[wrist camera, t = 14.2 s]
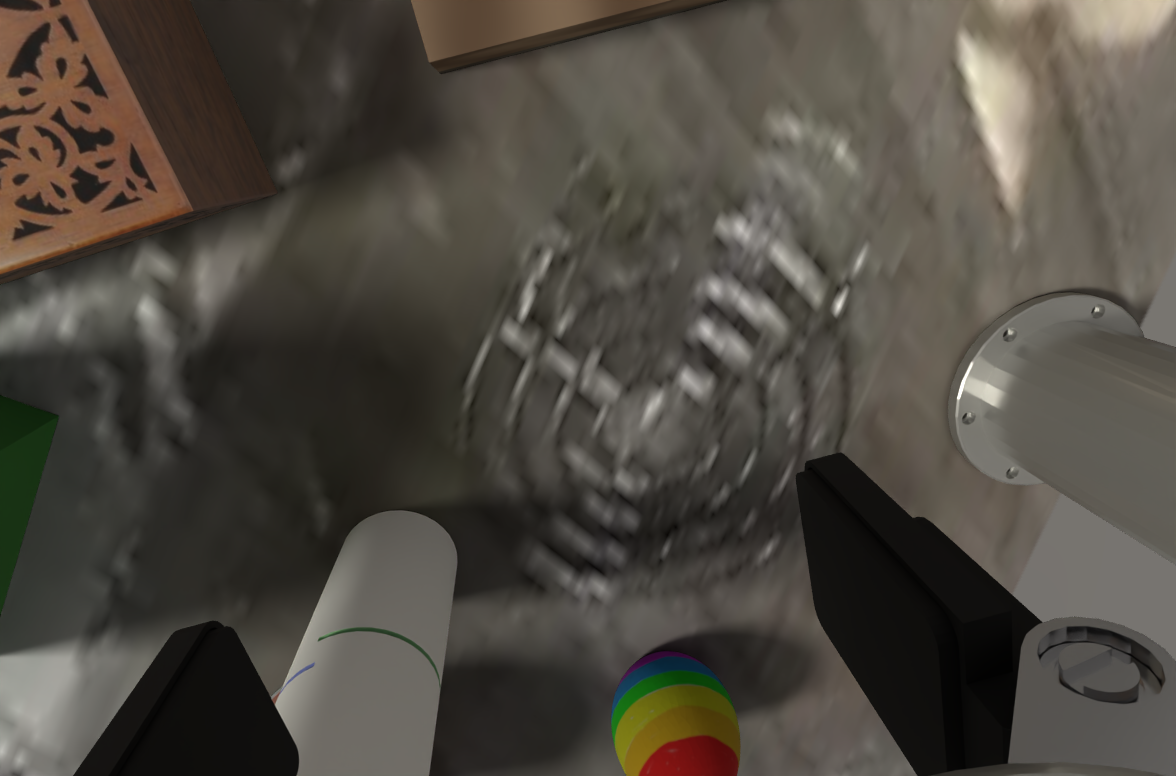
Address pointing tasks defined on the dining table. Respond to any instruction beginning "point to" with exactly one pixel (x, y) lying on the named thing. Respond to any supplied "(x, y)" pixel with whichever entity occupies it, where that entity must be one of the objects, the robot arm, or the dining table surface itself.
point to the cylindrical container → (374, 652)
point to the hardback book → (19, 476)
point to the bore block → (524, 25)
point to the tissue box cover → (112, 129)
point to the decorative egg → (674, 719)
